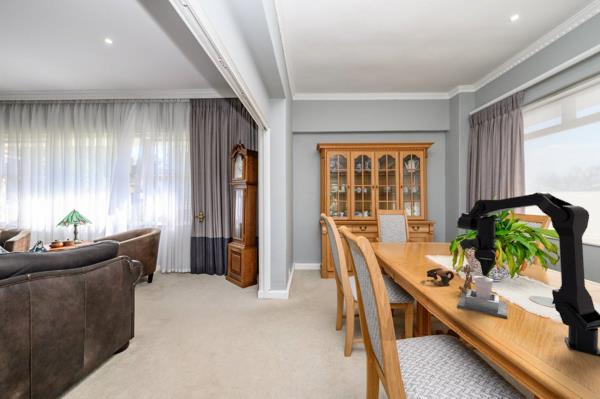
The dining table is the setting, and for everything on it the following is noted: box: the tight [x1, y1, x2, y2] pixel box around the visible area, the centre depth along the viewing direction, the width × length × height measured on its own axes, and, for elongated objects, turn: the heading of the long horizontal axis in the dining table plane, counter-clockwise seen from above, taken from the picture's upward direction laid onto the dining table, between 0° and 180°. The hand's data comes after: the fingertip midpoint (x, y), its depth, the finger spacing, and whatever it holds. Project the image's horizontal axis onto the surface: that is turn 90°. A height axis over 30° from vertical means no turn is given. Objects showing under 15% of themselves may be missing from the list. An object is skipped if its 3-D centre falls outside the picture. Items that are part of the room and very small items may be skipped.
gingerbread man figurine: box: [458, 263, 473, 294], centre depth 118 cm, size 9×4×12 cm, turn 168°
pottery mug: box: [426, 267, 455, 287], centre depth 130 cm, size 12×10×8 cm
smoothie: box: [472, 275, 495, 300], centre depth 103 cm, size 6×6×14 cm
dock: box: [457, 288, 508, 319], centre depth 103 cm, size 15×15×4 cm
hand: (485, 273), depth 102 cm, fingers open, 9 cm apart
